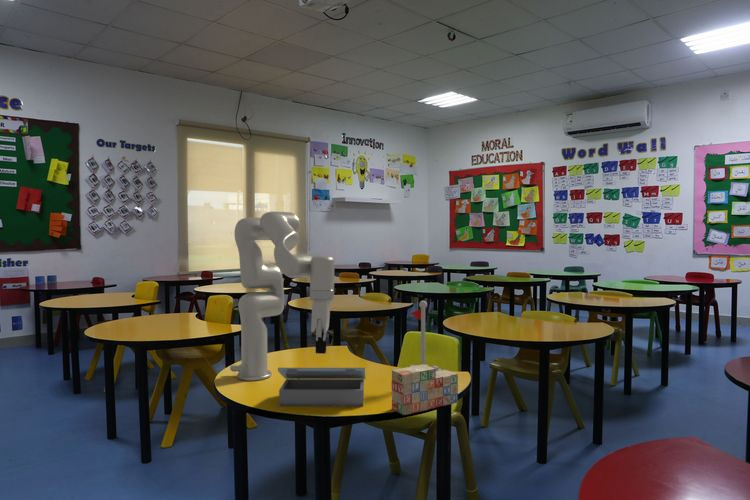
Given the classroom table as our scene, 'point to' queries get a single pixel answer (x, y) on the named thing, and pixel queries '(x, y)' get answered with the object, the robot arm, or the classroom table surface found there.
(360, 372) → the grey flat panel
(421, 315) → the flag stand
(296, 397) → the grey open box
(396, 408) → the stack of blocks
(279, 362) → the classroom table surface
